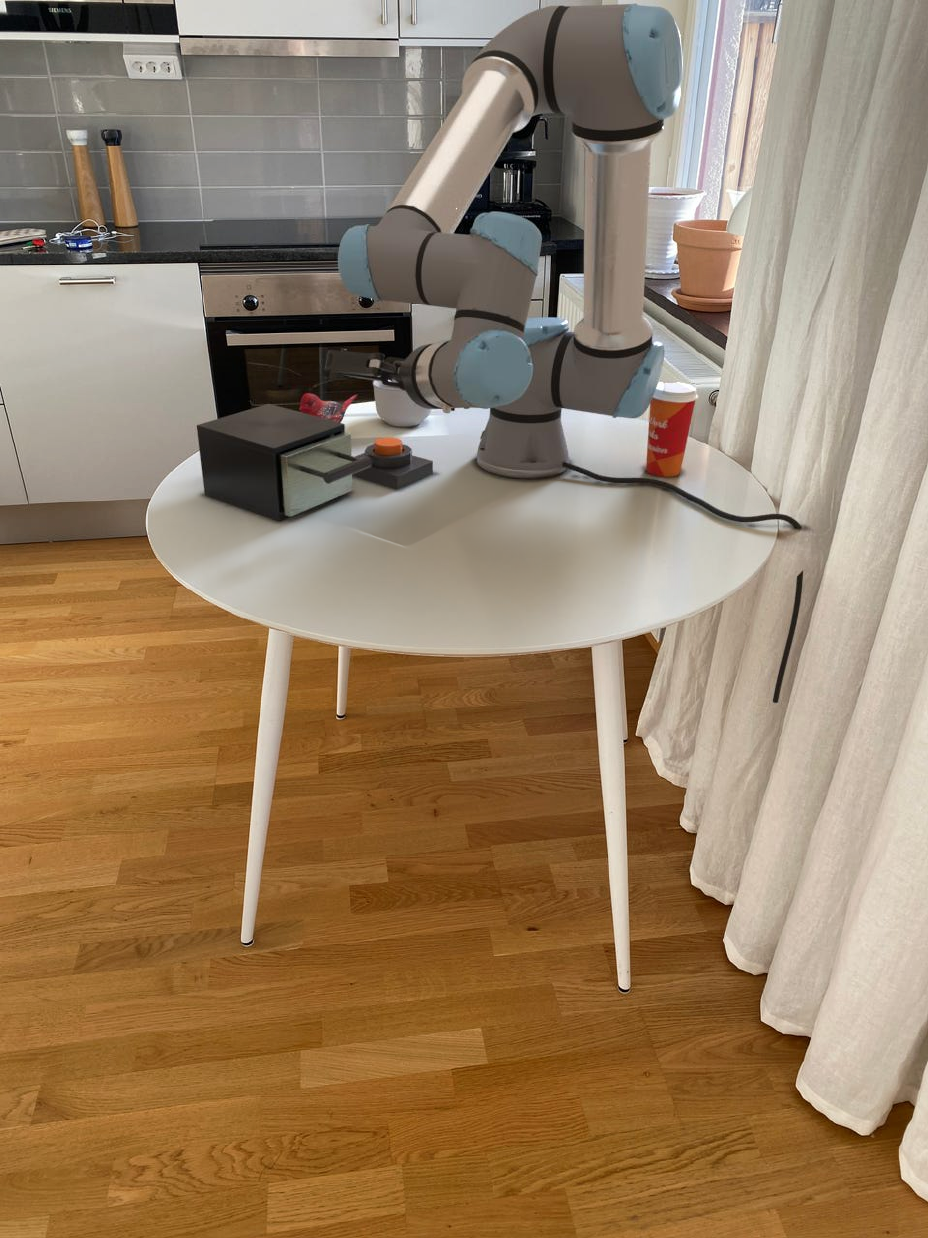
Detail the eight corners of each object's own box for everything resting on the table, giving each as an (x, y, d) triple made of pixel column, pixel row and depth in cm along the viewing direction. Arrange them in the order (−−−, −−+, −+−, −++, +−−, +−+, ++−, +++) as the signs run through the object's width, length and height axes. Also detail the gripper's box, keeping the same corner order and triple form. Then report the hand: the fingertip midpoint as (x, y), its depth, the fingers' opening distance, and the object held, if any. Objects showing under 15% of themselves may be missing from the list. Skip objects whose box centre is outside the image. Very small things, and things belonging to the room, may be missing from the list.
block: (432, 473, 151) (433, 449, 149) (397, 489, 144) (397, 464, 142) (380, 458, 156) (380, 435, 154) (344, 473, 150) (343, 449, 148)
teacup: (424, 433, 169) (424, 389, 165) (366, 428, 170) (365, 384, 167) (441, 411, 181) (442, 370, 177) (387, 406, 182) (386, 365, 179)
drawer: (383, 500, 138) (382, 441, 134) (321, 527, 129) (318, 466, 124) (283, 468, 148) (279, 413, 144) (220, 492, 139) (213, 434, 135)
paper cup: (634, 462, 158) (644, 380, 151) (679, 462, 159) (691, 380, 152) (646, 479, 151) (657, 393, 144) (692, 479, 152) (705, 393, 145)
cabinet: (347, 492, 143) (344, 423, 138) (279, 521, 133) (273, 448, 127) (273, 469, 151) (268, 403, 145) (204, 495, 140) (196, 424, 135)
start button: (408, 451, 149) (407, 441, 148) (390, 458, 146) (390, 448, 145) (386, 445, 151) (386, 435, 150) (368, 452, 148) (368, 442, 147)
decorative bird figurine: (295, 454, 157) (291, 395, 152) (351, 426, 171) (349, 371, 166) (309, 457, 156) (306, 398, 151) (365, 428, 170) (363, 373, 165)
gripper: (335, 380, 103) (286, 387, 122) (528, 432, 114) (456, 431, 133) (348, 311, 102) (297, 329, 121) (541, 370, 113) (467, 378, 132)
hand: (380, 382), depth 127 cm, fingers open, 13 cm apart
